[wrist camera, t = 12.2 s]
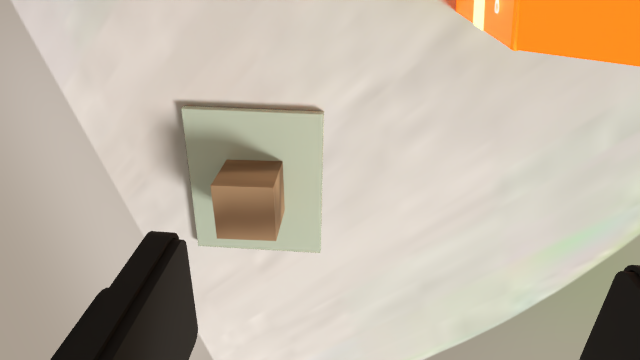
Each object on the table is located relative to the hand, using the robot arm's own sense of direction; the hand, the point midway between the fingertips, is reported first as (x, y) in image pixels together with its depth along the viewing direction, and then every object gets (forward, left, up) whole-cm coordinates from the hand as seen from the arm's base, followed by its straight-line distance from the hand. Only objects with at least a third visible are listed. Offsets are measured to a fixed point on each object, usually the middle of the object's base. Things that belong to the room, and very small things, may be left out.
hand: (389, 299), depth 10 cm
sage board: (+12, -9, -29) cm, 33 cm away
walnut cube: (+12, -9, -28) cm, 32 cm away
